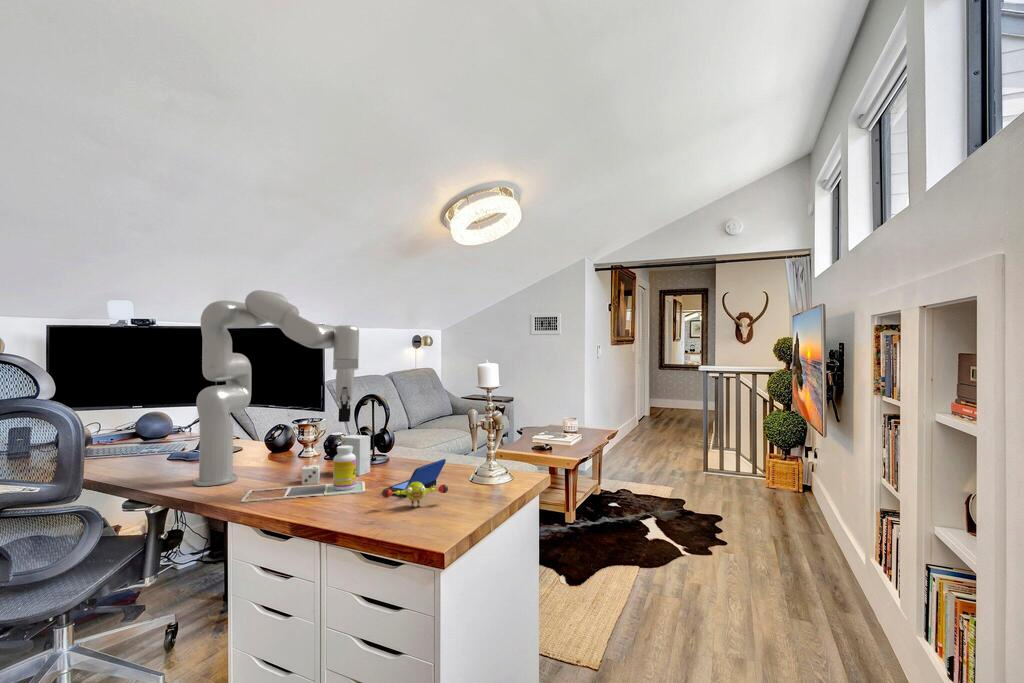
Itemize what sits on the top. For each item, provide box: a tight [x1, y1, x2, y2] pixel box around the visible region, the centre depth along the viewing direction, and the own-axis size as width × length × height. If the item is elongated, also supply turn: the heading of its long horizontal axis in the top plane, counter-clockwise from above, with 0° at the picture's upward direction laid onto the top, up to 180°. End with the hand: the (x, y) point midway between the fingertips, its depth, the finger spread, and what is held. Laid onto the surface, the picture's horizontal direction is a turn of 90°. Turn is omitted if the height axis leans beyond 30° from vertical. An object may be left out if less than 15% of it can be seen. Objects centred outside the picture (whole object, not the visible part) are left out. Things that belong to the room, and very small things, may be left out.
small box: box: [340, 434, 371, 477], centre depth 173 cm, size 8×6×13 cm
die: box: [301, 464, 321, 485], centre depth 161 cm, size 5×5×5 cm
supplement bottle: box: [332, 445, 357, 490], centre depth 153 cm, size 7×7×13 cm
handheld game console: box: [385, 458, 447, 498], centre depth 152 cm, size 16×13×9 cm
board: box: [240, 481, 366, 503], centre depth 149 cm, size 12×34×1 cm, turn 107°
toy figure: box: [381, 482, 449, 508], centre depth 135 cm, size 18×6×7 cm, turn 106°
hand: (344, 419), depth 153 cm, fingers open, 9 cm apart
